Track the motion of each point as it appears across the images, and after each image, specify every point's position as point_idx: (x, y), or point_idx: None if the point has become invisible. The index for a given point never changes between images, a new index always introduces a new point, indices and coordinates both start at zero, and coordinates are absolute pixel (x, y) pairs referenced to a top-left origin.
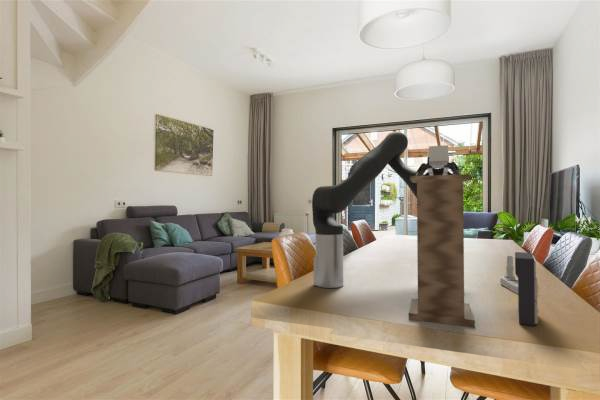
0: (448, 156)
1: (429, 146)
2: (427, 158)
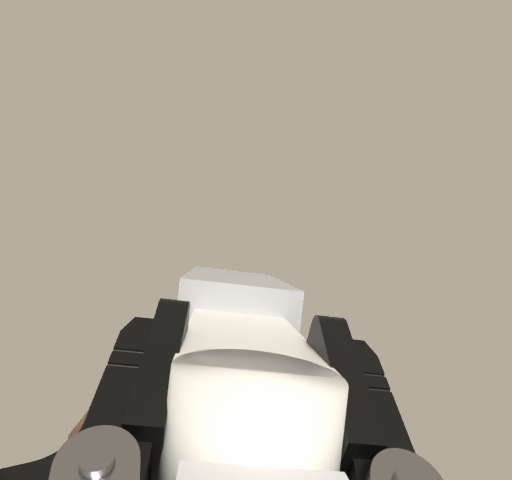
0: (127, 327)
1: (265, 274)
2: (370, 364)
